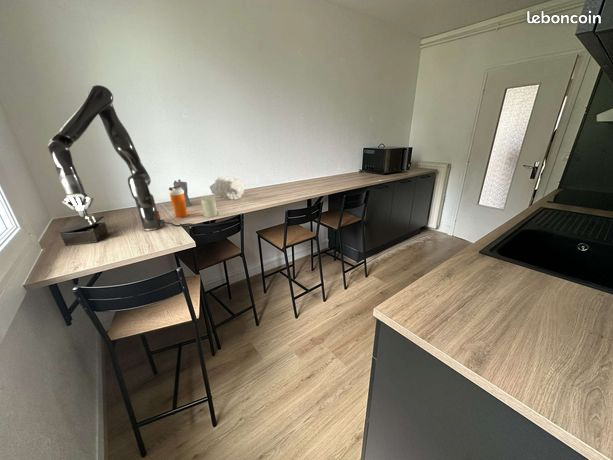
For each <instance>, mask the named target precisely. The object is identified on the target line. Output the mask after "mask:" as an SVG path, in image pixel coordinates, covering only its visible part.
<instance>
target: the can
mask: <svg viewBox="0 0 613 460" xmlns="http://www.w3.org/2000/svg"><path fill="white" fill-rule="evenodd" d="M215 197H216V196H203V197H201V198H200V203H201V209H202V214H203V215H202V216H203V217H205V218H212V217H216V216H217V215H218V210H217V203H216V198H215Z"/></svg>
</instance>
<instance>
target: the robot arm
mask: <svg viewBox="0 0 613 460" xmlns="http://www.w3.org/2000/svg"><path fill="white" fill-rule="evenodd" d="M113 103H114V94H113V93H112V92H111V90H110V89H109V88H108V87H107V86H104V85H101V84H95V85H93V86H91V87H89V90H88V92H87V96H86V98H85V100H84V101H83V103H82V104H81V105H80V106H79V108H78V109H77V110H76V111H75V112H74V113H73V114H72V115H71V116H70V117H69V118H68V119H67V121H66V122H65V123H64V124H63V125H62V126H61V128H60V129H59V131H58V132H57V133H55V134H54V135H53V136H52V137H51V138H50V139H49V140H48V142H47V143H46V150H47V151H48V152H49V154H50V156H51V158H52V160H53V162H54V168H55V171H56V174H57V176H58V180H59V182H60V185H61V187H62V190H63V192H64V194H65V199H64V200H62V201H61V202H62V204H63V205H65V206H67V207H68V208H70V209H71V210H72V211H73V210H76V211H77V212H78V215H79V217H81V218H85V217H86V216H88V215H89V214H88V211H87V209H88V208H90V207H91V205H92V204H93V202H94V197H90V196H88V195H87V193H86V191H85V188H84V185H83V183H82V179H81V177H80V175H79V174H78V171H77V167H76V166H75V163H74V160H73V156H72V153H71V149H70V148H71V147H72V146H73V145H74V143H76V142H78V141H79V140H80V139H81V137H82V136H83V135H84V134H85V132H87V130H88V128H89V127H90V126H91V124H92V123H93V121H94V120H95V119H96V117H97V116H99V119H100V120H101V122H102V124H103V127H104V130H105V133H106V134H107V137H108V139H109V141H110V143H111V145H112V147H113V149H114V151H115V152H116V154H117V155H118V156H119V157H120V158H121V159H122V160H123V161H124V162H125V164H126V166H127V167H128V169H129V171H130V175H129V177H128V178H127V183H128V188H129V191H130V195H131V197H132V198H133V200H134V201H135V204H136V209H137V211H138V215H139V219H140V222H141V225H142V229H143V231H146V232H151V231H155V230H160V229H161V228H162V227H164V225H170V226H171V225H172V226H174V227H183V226H184V227H185V226H195V227H215V226H221V225H225V224H230V223H235V222H239V221H240V219H233V220H229V221H223V222H219V223H211V224H200V223H194V222H193V223H192V222H191V223H190V222H188V223H181V224H175V223H173V222H169V221H165V219H161V215H160V212H159V210H158V208H157V205H156V202H155V197H154V195H153V194H152V193H151V192H150V189H149V186H150V185H151V184H152V183H151V182H152V180H151V177H150V176H151V175H149V173H148V171H147V169H146V167H145V166H144V165H143V163H142V161H141V157H140V156H139V154H138V151H137V149H136V146H135V144H134V142H133V140H132V137H131V135H130V133H129V131H128V130H127V129H126V127H125V126H124V124H123V123H122V122H121V120H120V118H119V117H118V115H117V112H116V109H115V107H114V104H113Z"/></svg>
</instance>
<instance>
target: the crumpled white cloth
mask: <svg viewBox="0 0 613 460" xmlns="http://www.w3.org/2000/svg"><path fill="white" fill-rule="evenodd" d="M214 180H215V181H214V183H212V184H211V185H209V189H210V192H211V193H212V194H213V195H214V197H220V198H224V199H229V200H234V201H237V200H238V199H241V197H242V195H244V192H245V184H244V183H243V180H241V179H240V178H235V177H233V178H231V177H229V176H226V177H225V176H224V175H221V176H218V177H217V178H216V179H214Z"/></svg>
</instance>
